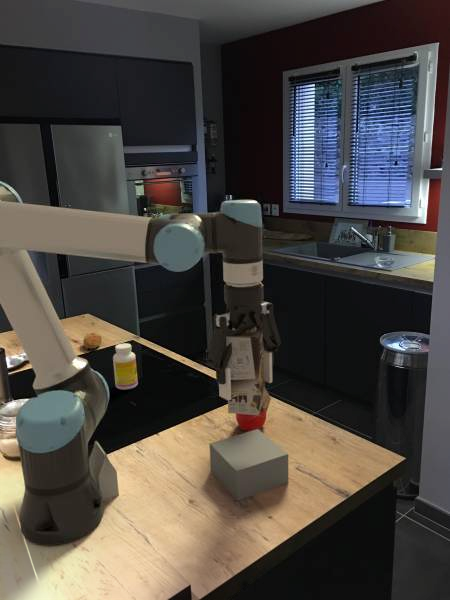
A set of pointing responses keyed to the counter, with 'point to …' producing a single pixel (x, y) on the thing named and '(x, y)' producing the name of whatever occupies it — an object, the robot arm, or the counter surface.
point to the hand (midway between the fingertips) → (246, 389)
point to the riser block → (248, 464)
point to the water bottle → (254, 417)
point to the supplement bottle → (125, 367)
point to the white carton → (103, 473)
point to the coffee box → (246, 372)
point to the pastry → (92, 340)
